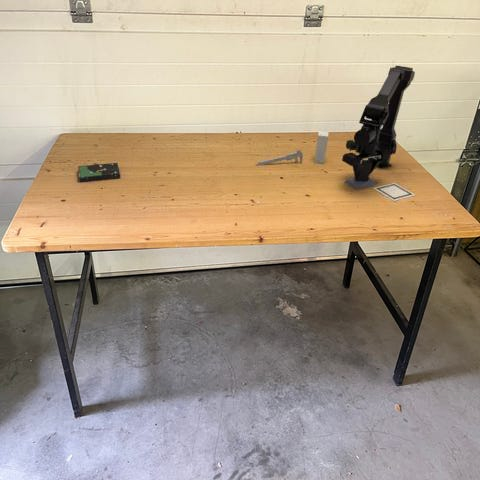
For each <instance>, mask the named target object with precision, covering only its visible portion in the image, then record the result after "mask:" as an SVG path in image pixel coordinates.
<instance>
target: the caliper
mask: <svg viewBox="0 0 480 480" xmlns="http://www.w3.org/2000/svg"><path fill="white" fill-rule="evenodd" d="M298 158H299V159H298ZM303 158H304V154H303V151H302V150H301V148H299V149H296V151H295V152H291V153H286V154H285V155H282V156H277V157H273V158H269V159H268V158H267V159H264V160H260V161H258V162H257V163H254V166H264V165H269V164H272V163H277V162H282V161H287V162H289V161H292V160H293V159H294V161H295V163H296V164H298V163H299V162H300V163H303Z"/></svg>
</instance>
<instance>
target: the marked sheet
mask: <svg viewBox="0 0 480 480" xmlns="http://www.w3.org/2000/svg"><path fill="white" fill-rule="evenodd" d="M372 189H373V190H375V191H377V192H378V193H380V194H381V195H383V196H385V197H386V198H387V199H389V200H391V201H393V202H397V201H401V200H403V199H407V198H411V197H416V194H414V193H413V192H411V191H410V190H408V189H406V188H404V187H403V186H401V185H399V184H397V183H395V182H392V183H390V184H384V185H380V186H377V187H376V186H375V187H372Z"/></svg>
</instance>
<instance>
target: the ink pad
mask: <svg viewBox="0 0 480 480" xmlns="http://www.w3.org/2000/svg"><path fill="white" fill-rule="evenodd" d="M344 184H346V185H347V186H349V187H351V188H352V189H353V190H355V191H358V190H359V191H360V190H363V189H367V188H368V189H369V188H371V187H372V188H373V187H376V186H377V184H378V182H376V180H374V179H373V178H371V177H369V179H368V181H356V180H355V178H354V177H350V178H347V179H345V180H344Z"/></svg>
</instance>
